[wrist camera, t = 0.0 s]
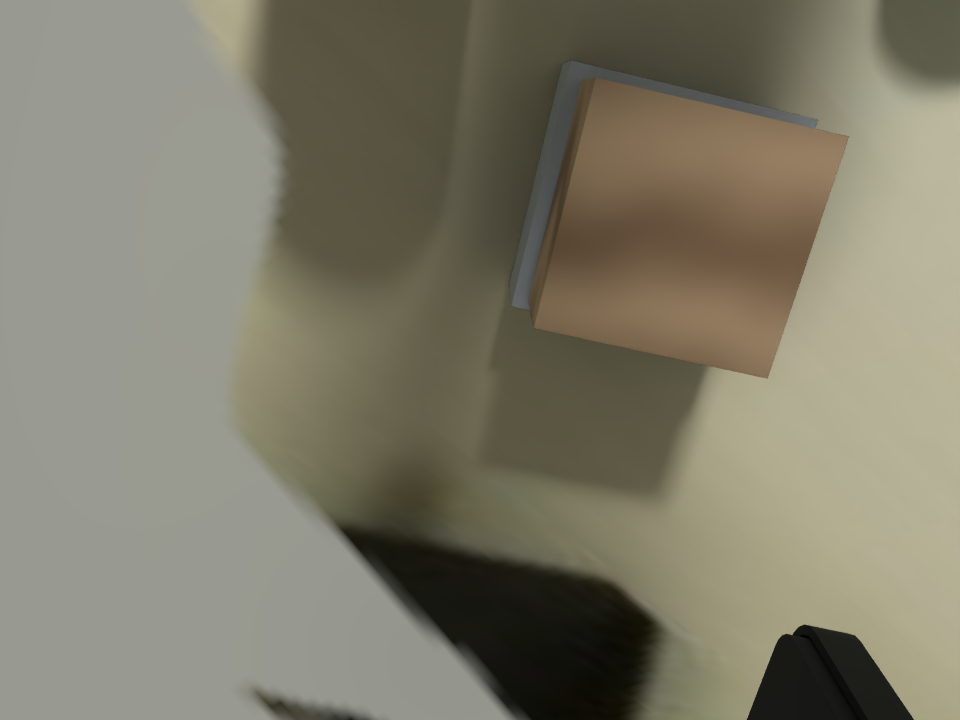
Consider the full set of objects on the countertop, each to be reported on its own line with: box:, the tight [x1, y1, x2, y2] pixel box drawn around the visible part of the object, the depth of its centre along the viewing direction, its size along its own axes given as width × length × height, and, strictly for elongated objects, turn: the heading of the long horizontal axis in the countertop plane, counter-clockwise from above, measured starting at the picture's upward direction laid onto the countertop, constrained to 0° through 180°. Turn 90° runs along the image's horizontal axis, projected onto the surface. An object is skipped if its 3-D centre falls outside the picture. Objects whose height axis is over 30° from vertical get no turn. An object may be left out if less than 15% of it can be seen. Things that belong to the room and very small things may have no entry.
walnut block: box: [528, 78, 849, 379], centre depth 33 cm, size 9×9×4 cm
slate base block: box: [509, 60, 818, 310], centre depth 37 cm, size 10×10×4 cm
